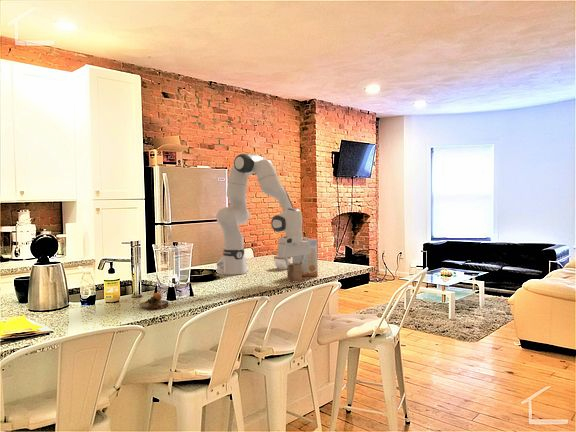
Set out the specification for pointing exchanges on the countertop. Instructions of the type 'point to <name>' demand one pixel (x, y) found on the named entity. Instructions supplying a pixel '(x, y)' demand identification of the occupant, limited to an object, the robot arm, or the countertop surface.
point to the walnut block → (294, 272)
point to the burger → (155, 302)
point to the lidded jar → (281, 262)
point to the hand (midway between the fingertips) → (294, 264)
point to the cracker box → (309, 260)
